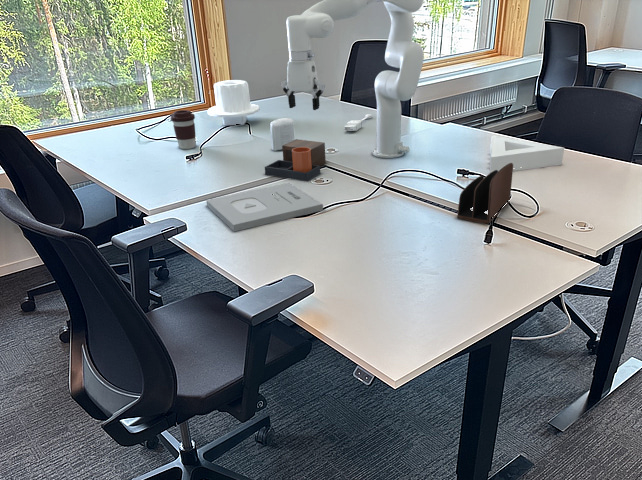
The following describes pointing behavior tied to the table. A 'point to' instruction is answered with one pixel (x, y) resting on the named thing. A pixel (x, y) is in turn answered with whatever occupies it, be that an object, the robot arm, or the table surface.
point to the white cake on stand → (232, 102)
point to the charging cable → (355, 124)
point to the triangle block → (522, 154)
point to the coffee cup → (184, 128)
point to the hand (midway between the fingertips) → (304, 108)
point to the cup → (301, 159)
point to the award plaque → (263, 206)
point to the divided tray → (290, 171)
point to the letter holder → (486, 196)
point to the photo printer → (281, 132)
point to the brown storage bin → (315, 147)
